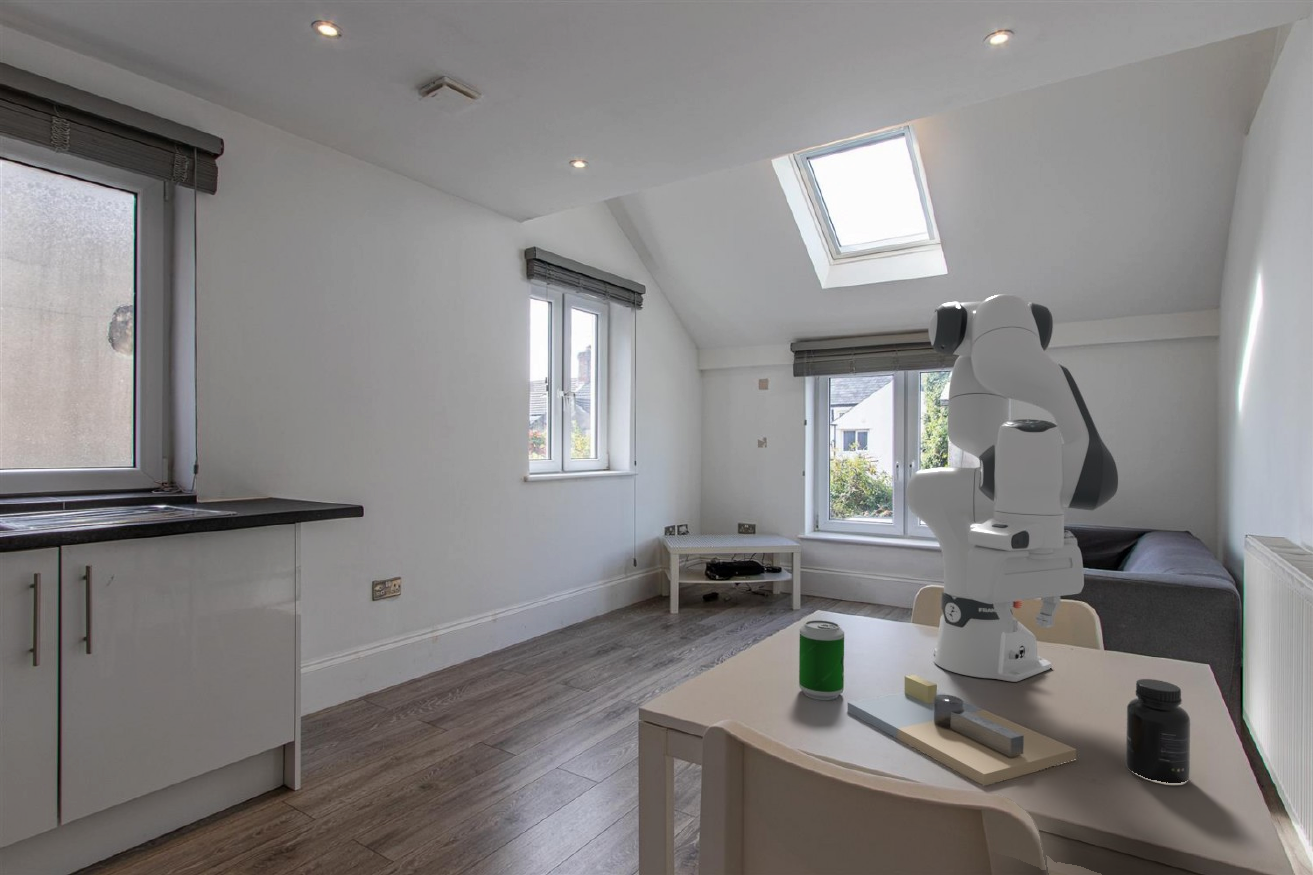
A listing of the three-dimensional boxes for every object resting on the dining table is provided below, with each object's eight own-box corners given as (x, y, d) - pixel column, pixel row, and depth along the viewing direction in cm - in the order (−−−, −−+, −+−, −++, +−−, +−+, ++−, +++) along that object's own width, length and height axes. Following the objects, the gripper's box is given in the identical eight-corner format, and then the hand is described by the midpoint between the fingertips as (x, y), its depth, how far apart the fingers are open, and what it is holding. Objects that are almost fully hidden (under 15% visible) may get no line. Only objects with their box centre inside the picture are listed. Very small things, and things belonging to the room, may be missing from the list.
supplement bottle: (1113, 763, 94) (1114, 675, 94) (1160, 761, 94) (1160, 675, 94) (1154, 788, 87) (1155, 694, 87) (1203, 787, 87) (1204, 693, 87)
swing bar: (927, 719, 103) (928, 696, 103) (947, 715, 105) (947, 693, 105) (1006, 758, 91) (1007, 731, 91) (1027, 752, 92) (1027, 726, 92)
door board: (929, 695, 118) (930, 670, 118) (1076, 760, 94) (1076, 729, 94) (847, 711, 111) (847, 684, 111) (984, 785, 87) (984, 752, 87)
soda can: (845, 703, 114) (845, 631, 114) (799, 699, 115) (799, 628, 115) (842, 687, 121) (842, 620, 121) (798, 684, 123) (799, 617, 123)
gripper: (1055, 527, 105) (1054, 616, 105) (959, 532, 96) (958, 630, 96) (1096, 532, 99) (1095, 627, 99) (997, 538, 91) (996, 642, 91)
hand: (1027, 629), depth 98 cm, fingers open, 6 cm apart
